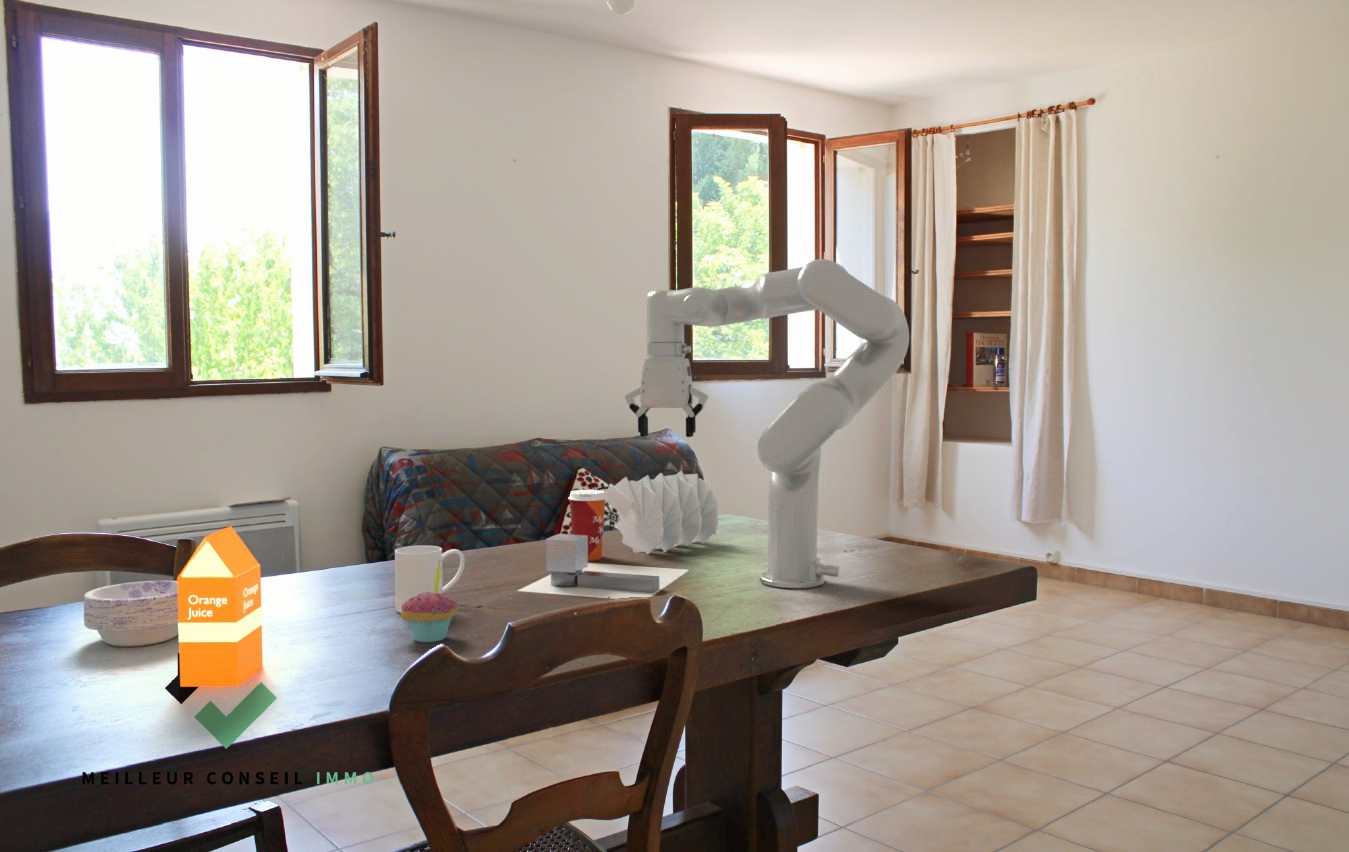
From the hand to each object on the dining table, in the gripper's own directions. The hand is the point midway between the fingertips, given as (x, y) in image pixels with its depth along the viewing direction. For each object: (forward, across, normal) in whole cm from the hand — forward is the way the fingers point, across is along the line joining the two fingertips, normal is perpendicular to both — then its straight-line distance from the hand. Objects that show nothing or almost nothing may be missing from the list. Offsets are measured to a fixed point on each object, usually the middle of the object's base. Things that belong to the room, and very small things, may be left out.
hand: (666, 436), depth 203 cm
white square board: (+28, +8, +13) cm, 32 cm away
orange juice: (+28, +39, +82) cm, 95 cm away
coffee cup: (+28, +20, -6) cm, 35 cm away
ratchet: (+27, +7, +19) cm, 34 cm away
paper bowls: (+27, +64, +71) cm, 99 cm away
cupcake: (+28, +21, +58) cm, 68 cm away
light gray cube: (+24, +14, +19) cm, 34 cm away
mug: (+28, +31, +41) cm, 58 cm away
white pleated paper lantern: (+28, +8, -24) cm, 38 cm away
